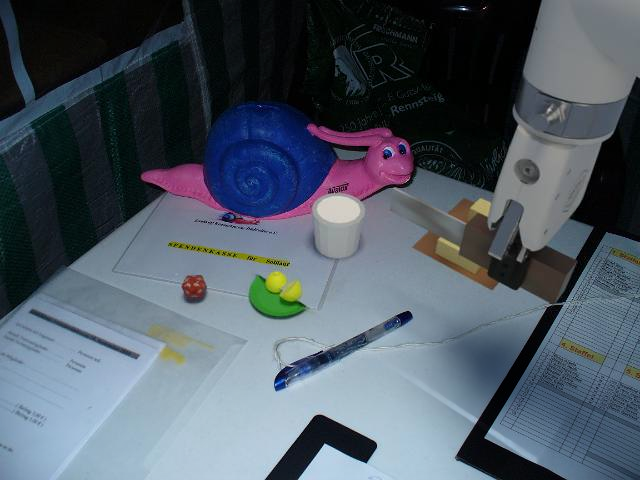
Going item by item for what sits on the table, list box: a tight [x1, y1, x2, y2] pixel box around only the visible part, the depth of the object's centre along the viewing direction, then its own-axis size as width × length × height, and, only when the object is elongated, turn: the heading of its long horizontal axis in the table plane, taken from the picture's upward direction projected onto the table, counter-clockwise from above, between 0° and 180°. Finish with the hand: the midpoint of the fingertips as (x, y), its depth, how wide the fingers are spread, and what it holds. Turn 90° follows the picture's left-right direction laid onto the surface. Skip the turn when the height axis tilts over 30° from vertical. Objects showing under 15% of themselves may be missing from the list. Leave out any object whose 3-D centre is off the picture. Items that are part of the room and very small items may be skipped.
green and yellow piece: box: [248, 270, 308, 317], centre depth 73 cm, size 8×8×3 cm
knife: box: [389, 187, 578, 306], centre depth 58 cm, size 19×2×4 cm, turn 50°
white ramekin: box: [311, 192, 366, 260], centre depth 78 cm, size 7×7×7 cm
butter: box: [435, 237, 481, 274], centre depth 78 cm, size 6×4×2 cm, turn 50°
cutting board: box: [411, 197, 500, 291], centre depth 81 cm, size 12×14×1 cm
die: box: [180, 274, 208, 300], centre depth 73 cm, size 3×3×3 cm
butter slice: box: [467, 197, 491, 222], centre depth 82 cm, size 6×3×2 cm, turn 50°
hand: (511, 271), depth 57 cm, fingers closed on knife, 2 cm apart
